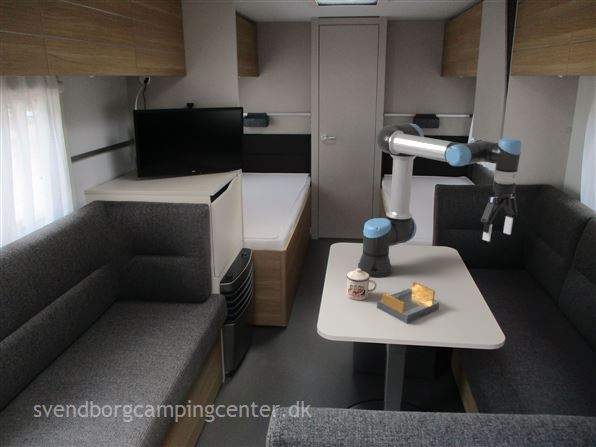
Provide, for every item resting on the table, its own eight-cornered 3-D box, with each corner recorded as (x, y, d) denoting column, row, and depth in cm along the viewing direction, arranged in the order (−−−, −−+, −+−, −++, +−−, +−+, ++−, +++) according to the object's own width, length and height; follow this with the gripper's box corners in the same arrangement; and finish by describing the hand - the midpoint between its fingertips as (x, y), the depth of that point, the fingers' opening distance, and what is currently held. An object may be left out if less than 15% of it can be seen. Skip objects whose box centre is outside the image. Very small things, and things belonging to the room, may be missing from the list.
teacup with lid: (344, 299, 200) (345, 272, 196) (347, 289, 208) (348, 263, 205) (375, 302, 198) (376, 275, 194) (376, 292, 206) (378, 266, 202)
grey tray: (376, 307, 193) (378, 291, 191) (408, 295, 204) (409, 279, 202) (406, 323, 182) (408, 306, 180) (438, 309, 193) (440, 293, 190)
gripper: (494, 188, 173) (486, 246, 180) (533, 179, 187) (524, 233, 194) (475, 184, 179) (468, 240, 185) (514, 175, 193) (506, 228, 199)
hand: (496, 236), depth 189 cm, fingers open, 13 cm apart
